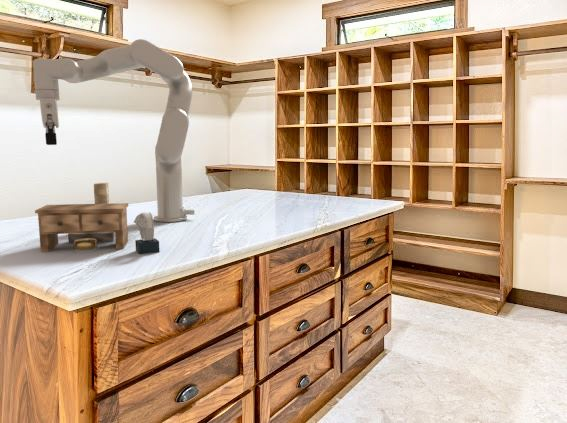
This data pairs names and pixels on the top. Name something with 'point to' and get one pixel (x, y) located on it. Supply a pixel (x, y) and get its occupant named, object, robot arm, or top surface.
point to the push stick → (100, 198)
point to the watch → (146, 234)
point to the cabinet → (82, 222)
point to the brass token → (85, 243)
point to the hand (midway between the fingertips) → (51, 144)
